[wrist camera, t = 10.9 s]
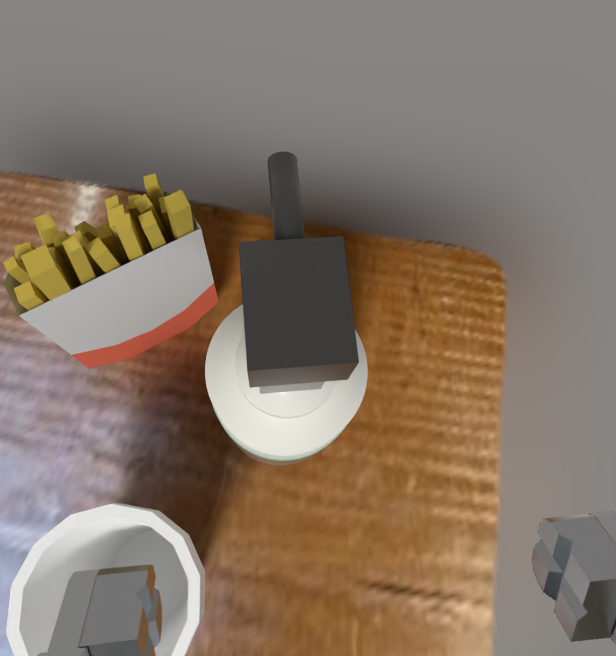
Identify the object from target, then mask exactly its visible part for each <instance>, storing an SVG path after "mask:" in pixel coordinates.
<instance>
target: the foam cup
mask: <svg viewBox="0 0 616 656" xmlns="http://www.w3.org/2000/svg"><path fill="white" fill-rule="evenodd" d="M139 565H153V567H154V571H155V575H156V578H155V586H154V588H156V589H157V590H159V592H160V597H161V605H162V629H161V639H160V642H159V643H158V645H157V646H156V647H155V648H154V650H155V655H156V656H185V655H186V653H187V651H188V648H189V646H190V644H191V642H192V639H193V637H194V635H195V633H196V630H197V628H198V626H199V624H200V622H201V619H202V617H203V615H204V595H205V570H204V568H203V565H202V563H201V561H200V559H199V556H198V554H197V552H196V550H195V547H194V545H193V543H192V541H191V538H190V536H189V534H188V533H186V532H185V531H184V530H183V529H181V528H180V527H179V526H178V525H176V524H175V523H174V522H173V521H171V520H170V519H169V518H168V517H167V516H165V515H164V514H163V513H162V512H160V511H158V510H152V509H147V508H142V507H137V506H132V505H127V504H109V505H105V506H102V507H98V508H94V509H91V510H87V511H83V512H79V513H76V514H72V515H70V516H68V517H67V518H66V519H65V520H63V521H62V522H61V523H60V524H58V525H57V526H56V527H55V528H53V529H52V530H51V531H50V532H48V533H47V534H46V535H45V536H43V537H42V538H41V539H40V540H38V541H37V542H36V543H35V544H34V545H33V547H32V549H31V551H30V553H29V554H28V556H27V558H26V560H25V562H24V563H23V565H22V567H21V569H20V571H19V572H18V574H17V576H16V578H15V580H14V581H13V583H12V585H11V593H10V602H9V611H8V620H7V630H6V634H7V637H8V640H9V643H10V645H11V648H12V651H13V654H14V656H37V655H38V654H39V653H44V652H48V648H49V645H50V641H51V638H52V635H53V631H54V628H55V625H56V621H57V618H58V615H59V611H60V608H61V605H62V601H63V598H64V595H65V591H66V588H67V585H68V581H69V579H70V577H71V576H72V574H73V573H74V572H76V571H86V570H96V569H105V568H117V567H128V566H139Z"/></svg>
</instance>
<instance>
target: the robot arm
mask: <svg viewBox="0 0 616 656" xmlns="http://www.w3.org/2000/svg"><path fill="white" fill-rule="evenodd" d="M538 533H539V535H540V537H541V538H542V539H541V540H540V541H539V542H538V543H537V544H536V545H535V546H534V548H533V553H532V563H533V570H534V573H535V576H536V579H537V582H538V583H539V585H540V587H541V589H542V591H543V592H544V593H545V594H546V595H548V596H549V597H551V598H552V599H553V600H555V601H556V603H555V609H554V613H555V614H556V616H557V618H558V620H559V621H560V623H561V625H562V627H563V629H564V630H565V632H566V634H567V635H568V637H569V639H570V641H571V642H574V641H583V640H593V639H602V638H612V639H611V640H612V641H613V642H614V643H615V644H616V513H614V512H613V511H605V512H597V513H589V514H585V513H584V514H576V515H569V516H561V517H553V518H546V519H543V520H542V521H541V522H540V523H539V527H538ZM155 578H156V575H155V571H154V567H153V565H139V566H128V567H117V568H105V569H96V570H86V571H76V572H74V573H73V574H72V576H71V577H70V579H69V581H68V585H67V588H66V591H65V595H64V598H63V601H62V605H61V608H60V611H59V615H58V618H57V621H56V625H55V628H54V631H53V635H52V638H51V641H50V645H49V648H48V652H44V653H39V654H38V655H37V656H156V655H155V650H154V648H155V647H156V646H157V645H158V643H159V642H160V639H161V629H162V605H161V597H160V592H159V590H157V589H156V588H154V586H155Z"/></svg>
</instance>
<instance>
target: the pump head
mask: <svg viewBox="0 0 616 656" xmlns="http://www.w3.org/2000/svg"><path fill="white" fill-rule="evenodd" d="M268 169H269V181H270V191H271V204H272V216H273V227H274V239H275V240H267V241H249V242H239V254H240V269H241V284H242V300H243V315H244V330H245V345H246V360H247V373H248V380H249V386H250V388H252V387H264V386H277V385H289V384H301V383H314V382H326V381H338V380H348V378H349V377H350V375H351V374H352V372H353V371H354V369H355V368H356V366H357V365H358V363H359V357H358V349H357V342H356V334H355V326H354V318H353V310H352V302H351V294H350V286H349V278H348V270H347V262H346V254H345V246H344V238H343V236H338V237H320V238H305V235H304V225H303V216H302V207H301V197H300V187H299V178H298V168H297V159H296V156H295V155H293V154H292V153H289V152H278V153H275V154H273V155H271V156H270V157H269V158H268Z"/></svg>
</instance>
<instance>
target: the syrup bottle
mask: <svg viewBox="0 0 616 656" xmlns="http://www.w3.org/2000/svg"><path fill="white" fill-rule="evenodd" d="M355 334H356V342H357V349H358V357H359V363H358V365H357V366H356V368H355V369H354V371H353V372H352V374H351V375H350V377H349V378H348V380H338V381H326V382H314V383H301V384H289V385H277V386H264V387H252V388H250V386H249V380H248V373H247V360H246V345H245V330H244V315H243V304H242V305H241V306H239V307H238V308H236V309H235V310H234V311H233V312H232V313H230V314H229V315H228V316H227V317H226V318H225V320H224V321H223V322H222V323H221V324H220V326H219V327H218V329H217V331H216V332H215V334H214V336H213V338H212V340H211V342H210V345H209V348H208V352H207V356H206V362H205V379H206V386H207V390H208V394H209V397H210V399H211V402H212V405H213V408H214V410H215V413H216V415H217V417H218V419H219V421H220V422H221V424H222V426H223V427H224V429H225V431H226V433H227V434H228V436H229V437H230V438H231V439H232V441H233V442H234V443H235V444H236V446H237V447H238V448H239V449H240V450H241V451H242V452H243V453H244V454H245V455H247V456H248V457H250V458H251V459H253V460H255V461H257V462H259V463H262V464H265V465H269V466H277V467H282V466H291V465H296V464H299V463H302V462H304V461H306V460H308V459H310V458H311V457H313V456H314V455H315V454H317V453H318V452H320V451H322V450H323V449H324V448H325V447H326V446H328V445H329V444H330V443H331V442H332V441H333V440H334V439H335V438H336V437H337V436H338V435H339V434H340V433H341V432H342V431H343V430H344V428H345V427H346V425H347V424H348V423H349V422H350V421H351V419H352V418H353V416H354V415H355V413H356V412H357V410H358V408H359V406H360V404H361V402H362V399H363V396H364V394H365V389H366V385H367V374H368V369H367V359H366V354H365V350H364V347H363V344H362V341H361V339H360V337H359V335H358V333H357V332H356V330H355Z"/></svg>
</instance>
